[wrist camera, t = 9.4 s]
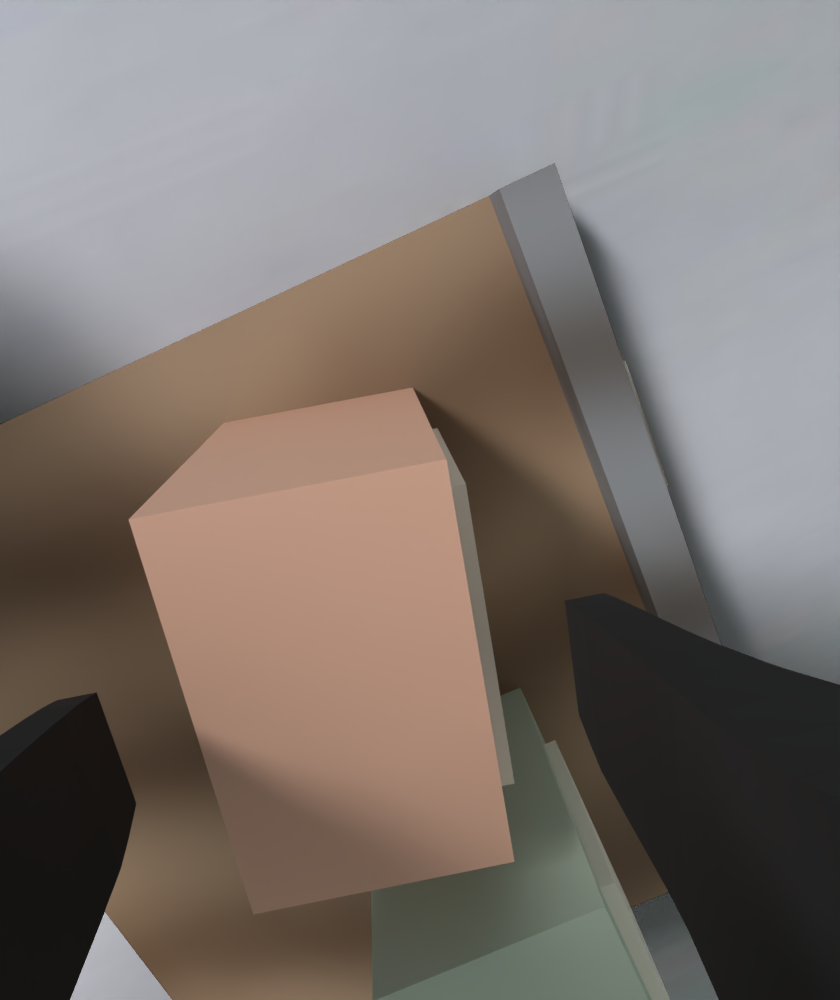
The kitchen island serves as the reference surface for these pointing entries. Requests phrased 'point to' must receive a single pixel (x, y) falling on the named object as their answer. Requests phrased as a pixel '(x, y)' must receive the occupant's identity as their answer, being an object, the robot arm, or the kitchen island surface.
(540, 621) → the shelf board
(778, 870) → the robot arm
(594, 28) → the kitchen island surface
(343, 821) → the terracotta box
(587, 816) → the sage box
